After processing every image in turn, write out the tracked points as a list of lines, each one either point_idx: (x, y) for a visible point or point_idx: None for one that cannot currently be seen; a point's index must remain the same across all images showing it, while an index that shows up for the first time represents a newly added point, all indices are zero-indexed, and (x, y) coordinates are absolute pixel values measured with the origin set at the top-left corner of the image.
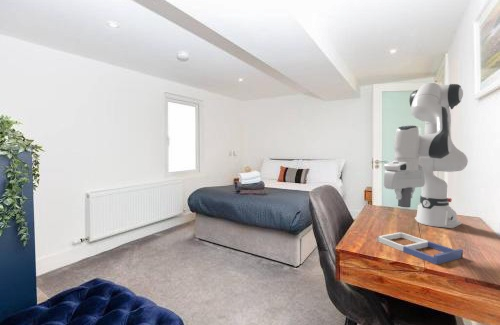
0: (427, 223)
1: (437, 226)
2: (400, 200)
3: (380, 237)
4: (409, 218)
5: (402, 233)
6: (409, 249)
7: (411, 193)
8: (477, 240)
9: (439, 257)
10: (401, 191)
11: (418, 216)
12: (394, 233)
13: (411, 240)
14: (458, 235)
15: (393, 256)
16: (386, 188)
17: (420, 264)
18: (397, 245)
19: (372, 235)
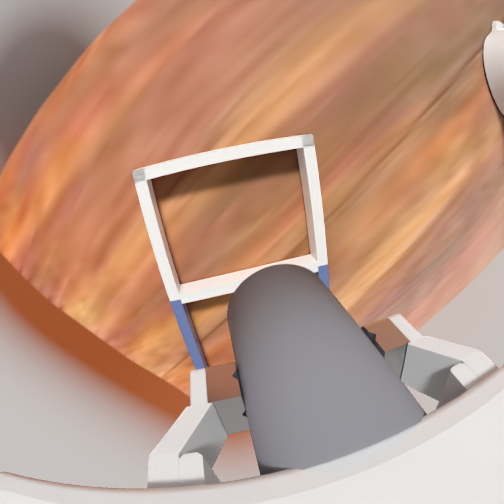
0: (492, 81)
1: (499, 108)
2: (236, 361)
3: (140, 188)
4: (483, 8)
5: (303, 152)
6: (177, 321)
7: (408, 383)
8: (485, 236)
9: None
10: (256, 455)
11: (501, 41)
12: (261, 144)
13: (304, 196)
14: (486, 189)
15: (113, 314)
16: (10, 479)
17: (161, 367)
18: (162, 275)
19: (176, 86)
